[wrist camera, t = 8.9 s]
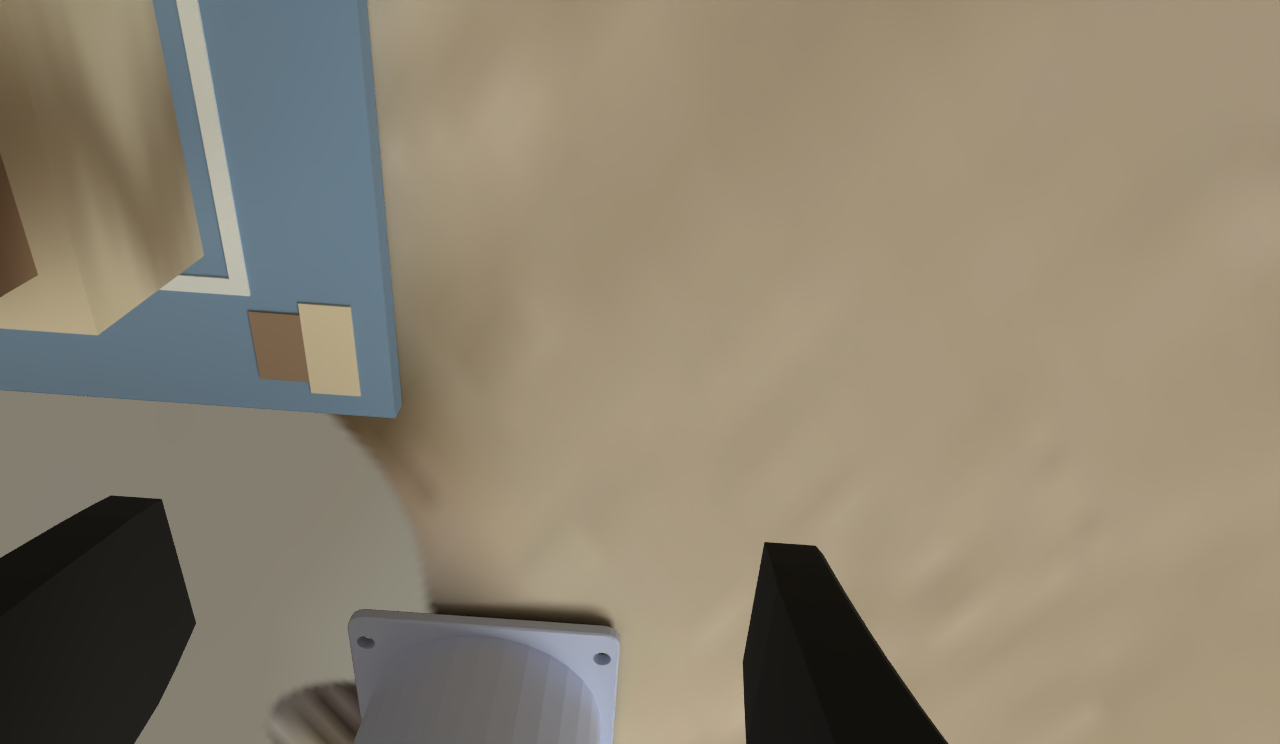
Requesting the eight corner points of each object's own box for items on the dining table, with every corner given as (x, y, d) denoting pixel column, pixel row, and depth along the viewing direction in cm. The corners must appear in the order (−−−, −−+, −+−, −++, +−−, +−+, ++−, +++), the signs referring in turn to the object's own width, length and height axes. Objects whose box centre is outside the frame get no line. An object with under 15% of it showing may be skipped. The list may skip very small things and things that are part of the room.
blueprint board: (401, 405, 21) (394, 419, 21) (-148, 366, 21) (-171, 379, 21) (342, -282, 14) (328, -290, 14) (-470, -344, 14) (-518, -355, 14)
